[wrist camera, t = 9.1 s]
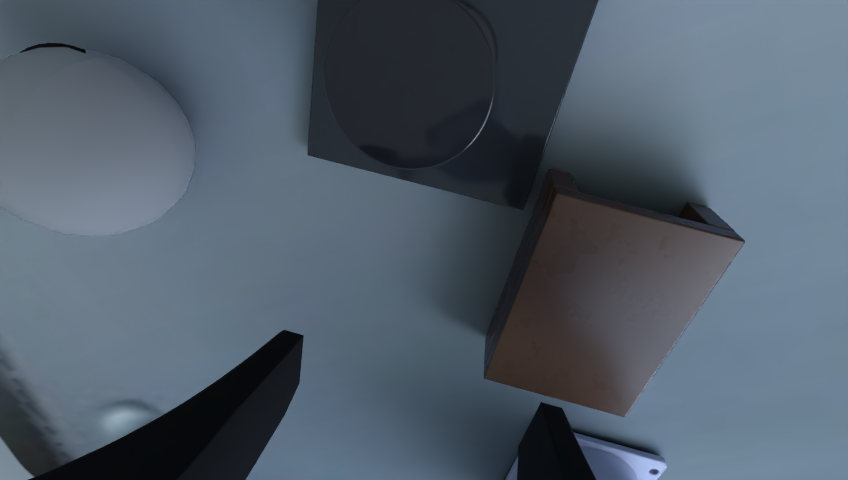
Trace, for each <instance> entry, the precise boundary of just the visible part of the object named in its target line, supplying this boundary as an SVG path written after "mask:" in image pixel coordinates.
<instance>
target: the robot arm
mask: <svg viewBox="0 0 848 480" xmlns="http://www.w3.org/2000/svg"><path fill="white" fill-rule="evenodd" d="M303 337H304V335H300V334H297V333H293V332H290V331H286V330H283V331H281V332H280V333H278V334H277V335H276V336H275V337H274V338H272V339H271V340H270V341H269V342H267V343H266V344H265V345H264V346H262V347H261V348H260V349H259V350H257V351H256V352H255V353H254V354H252V355H251V356H250V357H248V358H247V359H246V360H245V361H243V362H242V363H241V364H239V365H238V366H236V367H235V368H234V369H232V370H231V371H230V372H228V373H227V374H226V375H224V376H223V377H221V378H220V379H219V380H217V381H216V382H214V383H213V384H211V385H210V386H208V387H207V388H205V389H204V390H202V391H201V392H199V393H198V394H196V395H195V396H193V397H192V398H190V399H189V400H187V401H185V402H184V403H182V404H181V405H179V406H177V407H176V408H174V409H172V410H171V411H169V412H167V413H166V414H164V415H162V416H161V417H159V418H157V419H155V420H154V421H152V422H150V423H148V424H146V425H144V426H143V427H141V428H139V429H137V430H135V431H133V432H131V433H129V434H128V435H126V436H124V437H122V438H120V439H118V440H116V441H114V442H112V443H110V444H108V445H106V446H104V447H102V448H100V449H97V450H95V451H93V452H91V453H89V454H86V455H84V456H82V457H80V458H78V459H75V460H73V461H71V462H69V463H67V464H64V465H62V466H60V467H58V468H56V469H53V470H51V471H49V472H46V473H44V474H41V475H39V476H36V477H34V478H31V479H29V480H246V478H247V476H248V475H249V473H250V471H251V470H252V468H253V466H254V465H255V463H256V461H257V460H258V458H259V456H260V455H261V453H262V452H263V450H264V448H265V447H266V445H267V443H268V442H269V440H270V438H271V437H272V435H273V433H274V432H275V430H276V428H277V427H278V425H279V423H280V422H281V420H282V418H283V417H284V415H285V413H286V411H287V409H288V407H289V404H290V402H291V400H292V398H293V396H294V394H295V391H296V389H297V387H298V385H299V382H300V371H301V359H302V348H303ZM666 467H667V464H666V462H665V459H664V458H663V457H660V456H657V455H653V454H650V453H646V452H643V451H639V450H635V449H632V448H628V447H625V446H621V445H617V444H614V443H610V442H607V441H603V440H599V439H596V438H592V437H589V436H585V435H581V434H578V433H574V432H573V430H572V428H571V426H570V424H569V422H568V419H567V417H566V415H565V413H564V411H563V409H562V408H560V407H556V406H552V405H549V404H545V403H542V402H541V404H540V405H539V407H538V409H537V411H536V413H535V415H534V417H533V419H532V421H531V423H530V425H529V427H528V429H527V431H526V432H525V434H524V436H523V438H522V440H521V442H520V444H519V448H518V456H517V458H516V460H515V462H514V464H513V466H512V468H511V470H510V472H509V473H508V475H507V477H506V479H505V480H657V479H658V477H659V476H660V475H661V474H662V473H663V471H664V470H665V469H666Z"/></svg>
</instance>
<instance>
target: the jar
mask: <svg viewBox="0 0 848 480" xmlns="http://www.w3.org/2000/svg"><path fill="white" fill-rule="evenodd" d="M324 83H325V91H326V95H327V100H328V103H329V106H330V109H331V112H332V114H333V116H334V118H335V120H336V122H337V124H338V126H339V127H340V129H341V130H342V132H343V133H344V134H345V136H346V137H347V138H348V139H349V141H350V142H351V143H352V144H353V145H354V146H355V147H356V148H358V149H359V150H360V151H361V152H363V153H364V154H365V155H367V156H369V157H370V158H372V159H373V160H375V161H378V162H380V163H382V164H384V165H388V166H391V167H394V168H399V169H408V170H418V169H427V168H432V167H436V166H438V165H441V164H444V163H446V162H448V161H450V160H452V159H454V158H455V157H457V156H458V155H460V154H461V153H462V152H464V151H465V150H466V149H467V148H468V147H469V146H470V145H471V144H472V143H473V142H474V141H475V140H476V138H477V137H478V136H479V134H480V133H481V131H482V130H483V128H484V126H485V124H486V122H487V120H488V118H489V115H490V112H491V109H492V106H493V101H494V97H495V88H496V66H495V56H494V48H493V43H492V40H491V37H490V34H489V32H488V30H487V28H486V26H485V25H484V23H483V22H482V20H481V19H480V18H479V17H478V16H477V15H476V14H475V13H474V12H473V11H472V10H471V9H469V8H468V7H466V6H465V5H463V4H461V3H460V2H459V1H457V0H359V1H357V2H356V3H355V4H354V5H353V6H352V7H351V8H350V9H349V10H347V12H346V13H345V14H344V15H343V17H342V18H341V19H340V21H339V22H338V24H337V26H336V28H335V29H334V31H333V34H332V36H331V38H330V41H329V44H328V48H327V51H326V56H325V63H324Z"/></svg>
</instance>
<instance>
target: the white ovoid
mask: <svg viewBox="0 0 848 480" xmlns="http://www.w3.org/2000/svg"><path fill="white" fill-rule="evenodd" d="M195 150H196V145H195V141H194V138H193V134H192V130H191V127H190V123H189V122H188V120H187V118H186V116H185V115H184V113H183V111H182V109H181V108H180V106H179V104H178V102H177V101H176V100H175V99H174V98H173V97H172V96H171V95H170V94H169V92H168V91H167V90H166V89H165V88H164V87H163V86H162V85H161V84H160V83H159V82H157V81H156V80H154V79H153V78H152V77H150V76H149V75H147V74H146V73H144V72H143V71H141V70H140V69H138V68H136V67H134V66H132V65H131V64H129V63H127V62H125V61H123V60H121V59H118V58H115V57H113V56H110V55H107V54H104V53H101V52H98V51H95V50H87V49H81V48H78V47H75V46H71V45H66V44H61V43H45V44H38V45H35V46H31V47H28V48H27V49H25V50H23V51H21V52H20V53H18V54H14V55H11V56H9V57H7V58H5V59H3V60H1V61H0V206H1V207H2V208H3V209H4V210H6V211H8V212H9V213H11V214H13V215H14V216H16V217H18V218H19V219H21V220H24V221H27V222H30V223H33V224H36V225H38V226H41V227H44V228H47V229H50V230H53V231H56V232H59V233H62V234H65V235H78V236H114V235H117V234H121V233H124V232H127V231H130V230H134V229H136V228H139V227H142V226H145V225H147V224H150V223H153V222H156V221H157V220H158V219H159V218H160V217H161V216H162V215H163V214H164V213H165V212H167V211H168V210H169V209H170V208H171V207H172V206H173V205H174V204H175V203H176V202H177V201H178V200H180V199H181V198H182V197H183V196H184V194H185V192H186V189H187V187H188V184H189V182H190V179H191V177H192V173H193V170H194V167H195Z"/></svg>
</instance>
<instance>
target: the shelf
mask: <svg viewBox="0 0 848 480" xmlns="http://www.w3.org/2000/svg"><path fill="white" fill-rule="evenodd" d="M744 243H745V240H744V239H742V238H741V237H740V236H739V235H738V234H737V233H736V232H735V231H734V230H733V229H732V228H731V227H730V226H729V225H728V224H727V223H726V222H724V221H723V220H722V219H721V218H720V217H719V216H718V215H717V214H716V213H715V212H714V211H712V210H711V209H710V208H707V207H703V206H699V205H695V204H691V203H687V204H686V206H685V208H684V209H683V211H682V213H681V215H680V216H679V217H675V216H671V215H667V214H663V213H659V212H655V211H651V210H647V209H643V208H639V207H635V206H631V205H628V204H624V203H620V202H616V201H612V200H608V199H604V198H600V197H596V196H592V195H588V194H584V193H580V192H578V189H577V187H576V185H575V183H574V180H573V178H572V176H571V174H570V173H567V172H563V171H559V170H555V169H549V170H548V171H547V174H546V177H545V179H544V182H543V185H542V187H541V190H540V193H539V196H538V198H537V201H536V204H535V206H534V209H533V212H532V214H531V217H530V220H529V222H528V225H527V228H526V230H525V233H524V236H523V238H522V241H521V244H520V247H519V249H518V252H517V255H516V257H515V260H514V263H513V265H512V268H511V271H510V273H509V276H508V279H507V281H506V284H505V287H504V289H503V292H502V295H501V298H500V300H499V303H498V306H497V308H496V311H495V314H494V316H493V319H492V322H491V324H490V327H489V330H488V332H487V335H486V339H485V360H484V365H485V366H484V379H487V380H491V381H495V382H498V383H502V384H506V385H509V386H513V387H516V388H520V389H524V390H527V391H531V392H535V393H538V394H542V395H546V396H549V397H553V398H557V399H560V400H564V401H567V402H571V403H575V404H578V405H582V406H586V407H589V408H593V409H597V410H600V411H604V412H608V413H611V414H615V415H618V416H622V417H626V415H627V414H628V412H629V411H630V409H631V408H632V407H633V405H634V404H635V402H636V401H637V399H638V398H639V396H640V395H641V393H642V392H643V390H644V389H645V387H646V386H647V385H648V383H649V382H650V380H651V379H652V377H653V376H654V374H655V373H656V371H657V370H658V368H659V367H660V366H661V364H662V363H663V361H664V360H665V358H666V357H667V355H668V354H669V352H670V351H671V349H672V348H673V347H674V345H675V344H676V342H677V341H678V339H679V338H680V336H681V335H682V333H683V332H684V330H685V329H686V327H687V326H688V325H689V323H690V322H691V320H692V319H693V317H694V316H695V314H696V313H697V311H698V310H699V308H700V307H701V306H702V304H703V303H704V301H705V300H706V298H707V297H708V295H709V294H710V292H711V291H712V289H713V288H714V286H715V285H716V284H717V282H718V281H719V279H720V278H721V276H722V275H723V273H724V272H725V270H726V269H727V267H728V266H729V265H730V263H731V262H732V260H733V259H734V257H735V256H736V254H737V253H738V251H739V250H740V248H741V247H742V246H743V244H744Z"/></svg>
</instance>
